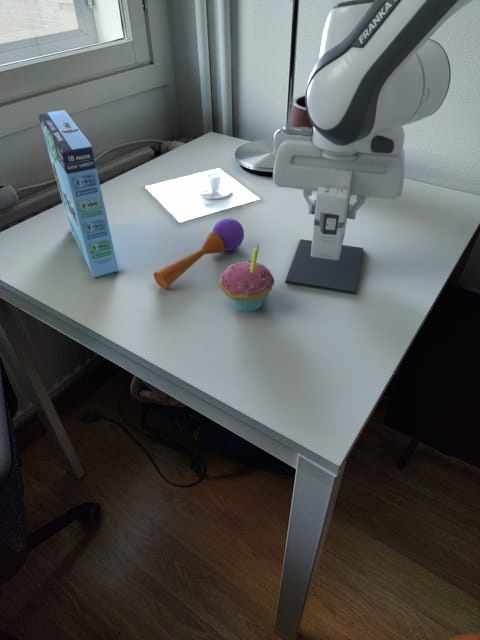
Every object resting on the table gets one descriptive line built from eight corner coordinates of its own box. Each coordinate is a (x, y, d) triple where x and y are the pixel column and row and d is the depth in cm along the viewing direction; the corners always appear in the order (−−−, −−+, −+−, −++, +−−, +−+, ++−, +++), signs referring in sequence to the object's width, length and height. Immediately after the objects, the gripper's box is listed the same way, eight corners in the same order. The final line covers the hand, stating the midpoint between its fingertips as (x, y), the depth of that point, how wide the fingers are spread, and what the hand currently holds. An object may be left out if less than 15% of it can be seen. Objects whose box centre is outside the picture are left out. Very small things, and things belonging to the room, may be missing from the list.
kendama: (144, 261, 79) (224, 210, 89) (155, 290, 82) (231, 237, 92) (165, 269, 75) (246, 215, 85) (176, 299, 79) (253, 243, 88)
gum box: (70, 229, 95) (35, 113, 80) (94, 223, 97) (65, 108, 82) (93, 279, 82) (57, 151, 67) (121, 271, 84) (92, 145, 69)
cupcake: (281, 297, 77) (285, 235, 69) (255, 326, 72) (256, 263, 64) (238, 281, 81) (237, 220, 73) (210, 308, 75) (205, 245, 67)
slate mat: (362, 250, 88) (363, 247, 87) (355, 294, 78) (355, 291, 77) (300, 241, 90) (300, 239, 90) (285, 283, 80) (285, 280, 80)
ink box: (318, 232, 85) (326, 152, 75) (345, 235, 84) (357, 155, 74) (309, 257, 79) (317, 174, 69) (338, 261, 77) (351, 177, 68)
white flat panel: (203, 204, 102) (202, 187, 99) (188, 191, 107) (186, 174, 105) (238, 195, 105) (237, 178, 103) (221, 182, 111) (220, 165, 108)
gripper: (269, 131, 68) (267, 216, 77) (414, 144, 63) (393, 232, 73) (278, 118, 72) (275, 199, 82) (414, 128, 68) (395, 213, 77)
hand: (332, 215), depth 77 cm, fingers closed on ink box, 5 cm apart
